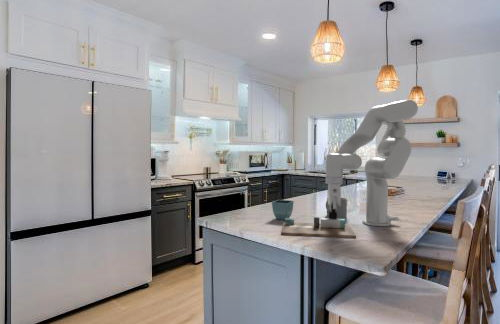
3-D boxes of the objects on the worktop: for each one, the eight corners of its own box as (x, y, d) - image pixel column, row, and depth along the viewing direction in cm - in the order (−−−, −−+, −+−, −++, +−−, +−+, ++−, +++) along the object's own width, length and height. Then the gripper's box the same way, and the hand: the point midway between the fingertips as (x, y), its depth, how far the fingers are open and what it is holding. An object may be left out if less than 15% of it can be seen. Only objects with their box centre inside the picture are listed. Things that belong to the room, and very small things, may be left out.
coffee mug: (350, 219, 160) (350, 199, 160) (332, 220, 158) (332, 200, 158) (337, 213, 174) (337, 195, 173) (320, 214, 171) (321, 196, 171)
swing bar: (344, 226, 139) (344, 218, 139) (344, 228, 137) (345, 220, 137) (320, 225, 141) (320, 218, 141) (320, 227, 138) (321, 219, 138)
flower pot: (271, 219, 159) (271, 202, 159) (278, 216, 167) (278, 199, 167) (287, 221, 155) (287, 203, 155) (293, 218, 163) (293, 200, 163)
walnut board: (349, 227, 145) (349, 215, 144) (356, 238, 127) (356, 225, 127) (283, 224, 149) (283, 213, 149) (281, 234, 132) (281, 222, 131)
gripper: (344, 182, 136) (343, 224, 136) (340, 179, 151) (339, 217, 151) (326, 181, 137) (325, 223, 138) (324, 178, 152) (323, 216, 152)
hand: (332, 220), depth 144 cm, fingers closed
